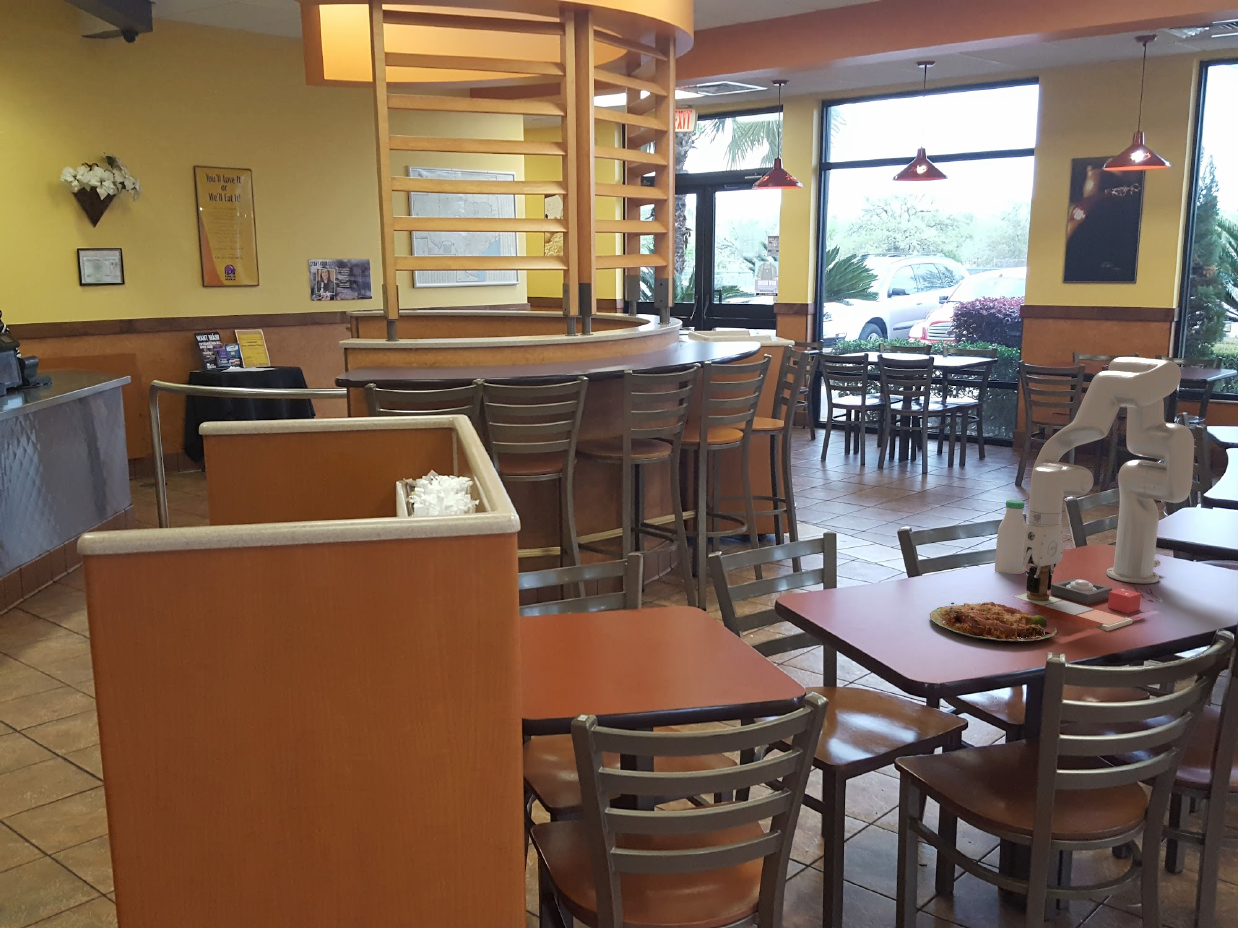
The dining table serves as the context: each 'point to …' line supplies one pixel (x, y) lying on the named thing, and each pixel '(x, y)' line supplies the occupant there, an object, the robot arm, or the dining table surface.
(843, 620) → the dining table surface
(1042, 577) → the wooden pepper mill
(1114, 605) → the die
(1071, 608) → the board
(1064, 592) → the dome housing
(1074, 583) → the dome
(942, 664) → the dining table surface
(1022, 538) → the milk bottle
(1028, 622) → the rice dish
